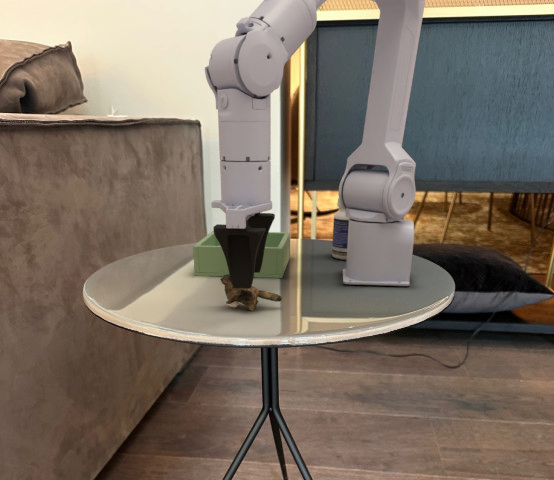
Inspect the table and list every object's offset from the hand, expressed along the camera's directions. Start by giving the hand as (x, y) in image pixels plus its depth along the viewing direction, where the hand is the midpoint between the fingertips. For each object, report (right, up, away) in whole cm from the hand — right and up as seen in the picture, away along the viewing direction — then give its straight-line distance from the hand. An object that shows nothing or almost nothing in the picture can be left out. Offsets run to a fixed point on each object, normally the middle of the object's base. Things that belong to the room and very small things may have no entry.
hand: (247, 279), depth 64 cm
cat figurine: (0, -4, +2) cm, 4 cm away
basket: (-2, +6, +22) cm, 23 cm away
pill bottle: (+16, +9, +28) cm, 34 cm away
